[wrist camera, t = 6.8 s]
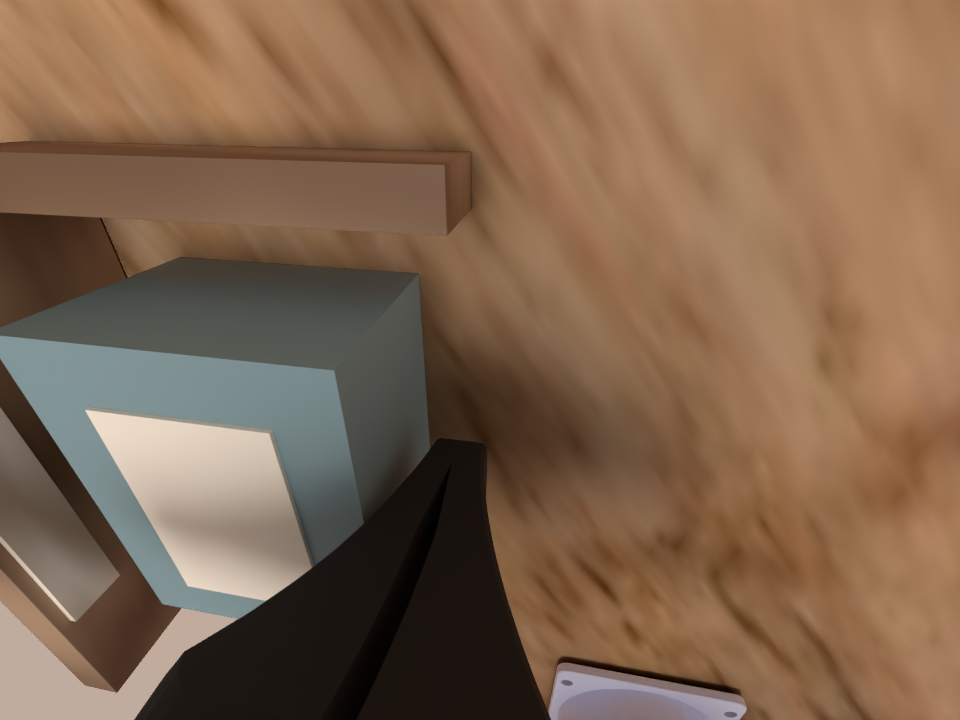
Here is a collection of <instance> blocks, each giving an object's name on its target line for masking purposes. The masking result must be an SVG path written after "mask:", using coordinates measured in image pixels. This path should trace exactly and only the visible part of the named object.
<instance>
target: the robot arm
mask: <svg viewBox="0 0 960 720" xmlns="http://www.w3.org/2000/svg"><path fill="white" fill-rule="evenodd" d="M486 482H487V446H486V445H485V444H484V443H476V442H468V441H460V440H452V439H443V438H440V439H438V440H437V441H436V442H435V443H434V445H433V446H432V447H431V449H430V450H429V451H428V453H427V454H426V455H425V457H424V458H423V459H422V460H421V462H420V463H419V464H418V465H417V467H416V468H415V469H414V470H413V471H412V473H411V474H410V475H409V476H408V477H407V478H406V479H405V481H404V482H403V483H402V484H401V485H400V486H399V487H398V489H397V490H396V491H395V492H394V493H393V494H392V495H391V496H390V497H389V498H388V499H387V500H386V502H385V503H384V504H383V505H382V506H381V507H380V508H379V509H378V510H377V511H376V512H375V513H374V514H373V515H372V516H371V517H370V518H369V519H368V520H367V521H366V522H365V523H364V524H363V525H361V526H360V527H359V528H358V529H357V530H356V531H355V532H354V533H353V534H352V535H351V536H350V537H348V538H347V539H346V540H345V541H344V542H343V543H342V544H340V545H339V546H338V547H337V548H336V549H335V550H333V551H332V552H331V553H330V554H328V555H327V556H326V557H325V558H323V559H322V560H321V561H320V562H319V563H317V564H316V565H315V566H314V567H312V568H311V569H310V570H308V571H307V572H306V573H305V574H303V575H302V576H301V577H299V578H298V579H297V580H295V581H294V582H292V583H291V584H290V585H288V586H287V587H285V588H284V589H282V590H281V591H279V592H278V593H277V594H275V595H274V596H272V597H271V598H269V599H268V600H266V601H265V602H264V603H262V604H261V605H259V606H258V607H256V608H255V609H253V610H252V611H250V612H249V613H247V614H246V615H244V616H243V617H241V618H239V619H238V620H236V621H234V622H233V623H231V624H230V625H228V626H226V627H225V628H223V629H221V630H220V631H218V632H217V633H215V634H213V635H212V636H210V637H208V638H207V639H205V640H203V641H202V642H200V643H198V644H197V645H195V646H193V647H191V648H190V649H188V650H186V651H185V652H184V653H183V654H182V655H181V657H180V658H179V659H178V661H177V662H176V663H175V664H174V665H173V667H172V668H171V669H170V670H169V671H168V673H167V674H166V675H165V677H164V678H163V680H162V681H161V682H160V684H159V685H158V686H157V688H156V689H155V691H154V692H153V694H152V695H151V697H150V698H149V699H148V701H147V702H146V704H145V705H144V707H143V708H142V709H141V711H140V712H139V714H138V715H137V717H136V718H135V719H134V720H740V718H741V717H742V716H743V714H744V713H745V712H746V710H747V707H746V704H745V701H744V699H743V698H742V697H741V696H739V695H736V694H732V693H727V692H722V691H716V690H711V689H706V688H700V687H695V686H690V685H684V684H679V683H673V682H668V681H663V680H657V679H652V678H647V677H641V676H636V675H631V674H625V673H620V672H615V671H609V670H604V669H599V668H593V667H588V666H583V665H577V664H572V663H561V664H559V665H558V666H557V670H556V675H555V679H554V684H553V689H552V694H551V699H550V703H549V708H548V711H547V708H546V706H545V704H544V701H543V699H542V696H541V694H540V691H539V689H538V686H537V684H536V681H535V679H534V676H533V673H532V671H531V668H530V665H529V663H528V660H527V657H526V654H525V652H524V649H523V646H522V643H521V640H520V637H519V634H518V631H517V628H516V625H515V622H514V619H513V616H512V613H511V610H510V607H509V604H508V600H507V597H506V593H505V590H504V586H503V583H502V579H501V575H500V571H499V567H498V563H497V559H496V555H495V550H494V546H493V541H492V536H491V530H490V525H489V519H488V512H487V504H486Z"/></svg>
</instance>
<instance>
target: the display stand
mask: <svg viewBox="0 0 960 720" xmlns="http://www.w3.org/2000/svg"><path fill="white" fill-rule="evenodd" d="M470 210H471V152H450V151H409V150H368V149H326V148H285V147H244V146H203V145H162V144H121V143H80V142H39V141H23V142H7V143H0V327H3V326H6V325H8V324H11V323H13V322H16V321H18V320H21V319H23V318H26V317H29V316H31V315H34V314H36V313H39V312H41V311H44V310H47V309H49V308H52V307H54V306H57V305H59V304H62V303H64V302H67V301H70V300H72V299H75V298H77V297H80V296H82V295H85V294H87V293H90V292H93V291H95V290H98V289H100V288H103V287H105V286H108V285H111V284H113V283H116V282H118V281H121V280H123V279H126V277H125V274H124V272H123V270H122V267H121V265H120V263H119V261H118V258H117V256H116V254H115V251H114V249H113V247H112V245H111V242H110V240H109V238H108V235H107V233H106V231H105V229H104V226H103V224H102V222H101V220H100V218H118V219H137V220H156V221H175V222H194V223H213V224H232V225H251V226H270V227H289V228H308V229H328V230H347V231H366V232H385V233H404V234H423V235H442V236H447V235H448V234H449V233H450V232H451V231H452V229H453V228H454V227H455V226H456V225H457V224H458V223H459V222H460V221H461V220H462V218H463V217H464V216H465V215H466V214H467V213H468V212H469V211H470ZM0 601H1V602H2V603H3V604H4V605H5V606H6V607H7V608H8V609H9V610H10V611H11V612H12V613H13V614H14V615H15V616H16V617H17V618H18V619H19V620H20V621H21V622H22V623H23V624H24V625H25V626H26V627H27V628H28V629H29V630H30V631H31V632H32V633H33V634H34V635H35V636H36V637H37V638H38V639H39V640H40V641H41V642H42V643H43V644H44V645H45V646H46V647H47V648H48V649H49V650H50V651H51V652H52V653H53V654H54V655H55V656H56V657H57V658H58V659H59V660H60V661H61V662H62V663H63V664H64V665H65V666H66V667H67V668H68V669H69V670H70V671H71V672H72V673H73V674H74V675H75V676H76V677H77V678H78V679H79V680H80V681H81V682H82V683H83V684H84V685H86V686H90V687H95V688H99V689H104V690H108V691H112V692H116V693H117V692H118V691H119V689H120V688H121V687H122V685H123V684H124V683H125V682H126V680H127V679H128V678H129V676H130V675H131V674H132V672H133V671H134V670H135V668H136V667H137V666H138V665H139V663H140V662H141V661H142V659H143V658H144V657H145V655H146V654H147V653H148V651H149V650H150V649H151V647H152V646H153V645H154V644H155V642H156V641H157V640H158V638H159V637H160V636H161V634H162V633H163V632H164V630H165V629H166V628H167V626H168V625H169V624H170V622H171V621H172V620H173V619H174V617H175V616H176V615H177V613H178V612H179V611H180V609H181V608H180V607H175V606H170V605H164V604H162V603H161V601H160V600H159V598H158V597H157V595H156V594H155V592H154V591H153V589H152V588H151V586H150V584H149V583H148V581H147V580H146V578H145V577H144V575H143V574H142V572H141V571H140V569H139V568H138V566H137V565H136V563H135V562H134V560H133V559H132V557H131V556H130V554H129V553H128V551H127V550H126V548H125V547H124V545H123V544H122V542H121V541H120V539H119V538H118V536H117V535H116V533H115V532H114V530H113V529H112V527H111V526H110V524H109V522H108V521H107V519H106V518H105V516H104V515H103V513H102V512H101V510H100V509H99V507H98V506H97V504H96V503H95V501H94V500H93V498H92V497H91V495H90V494H89V492H88V491H87V489H86V488H85V486H84V485H83V483H82V482H81V480H80V479H79V477H78V476H77V474H76V473H75V471H74V470H73V468H72V467H71V465H70V464H69V462H68V461H67V459H66V457H65V456H64V454H63V453H62V451H61V450H60V448H59V447H58V445H57V444H56V442H55V441H54V439H53V438H52V436H51V435H50V433H49V432H48V430H47V429H46V427H45V426H44V424H43V423H42V421H41V420H40V418H39V417H38V415H37V414H36V412H35V411H34V409H33V408H32V406H31V405H30V403H29V402H28V400H27V399H26V397H25V395H24V394H23V392H22V391H21V389H20V388H19V386H18V385H17V383H16V382H15V380H14V379H13V377H12V376H11V374H10V373H9V371H8V370H7V368H6V367H5V365H4V364H3V362H2V361H1V359H0Z"/></svg>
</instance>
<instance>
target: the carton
mask: <svg viewBox="0 0 960 720" xmlns="http://www.w3.org/2000/svg"><path fill="white" fill-rule="evenodd" d="M0 359H1V361H2V362H3V364H4V365H5V367H6V368H7V370H8V371H9V373H10V374H11V376H12V377H13V379H14V380H15V382H16V383H17V385H18V386H19V388H20V389H21V391H22V392H23V394H24V395H25V397H26V399H27V400H28V402H29V403H30V405H31V406H32V408H33V409H34V411H35V412H36V414H37V415H38V417H39V418H40V420H41V421H42V423H43V424H44V426H45V427H46V429H47V430H48V432H49V433H50V435H51V436H52V438H53V439H54V441H55V442H56V444H57V445H58V447H59V448H60V450H61V451H62V453H63V454H64V456H65V457H66V459H67V461H68V462H69V464H70V465H71V467H72V468H73V470H74V471H75V473H76V474H77V476H78V477H79V479H80V480H81V482H82V483H83V485H84V486H85V488H86V489H87V491H88V492H89V494H90V495H91V497H92V498H93V500H94V501H95V503H96V504H97V506H98V507H99V509H100V510H101V512H102V513H103V515H104V516H105V518H106V519H107V521H108V522H109V524H110V526H111V527H112V529H113V530H114V532H115V533H116V535H117V536H118V538H119V539H120V541H121V542H122V544H123V545H124V547H125V548H126V550H127V551H128V553H129V554H130V556H131V557H132V559H133V560H134V562H135V563H136V565H137V566H138V568H139V569H140V571H141V572H142V574H143V575H144V577H145V578H146V580H147V581H148V583H149V584H150V586H151V588H152V589H153V591H154V592H155V594H156V595H157V597H158V598H159V600H160V601H161V603H162V604H164V605H170V606H175V607H180V608H185V609H190V610H195V611H200V612H206V613H211V614H215V615H221V616H226V617H231V618H236V619H239V618H241V617H243V616H244V615H246V614H247V613H249V612H250V611H252V610H253V609H255V608H256V607H258V606H259V605H261V604H262V603H264V602H265V601H266V600H268V599H269V598H271V597H272V596H274V595H275V594H277V593H278V592H279V591H281V590H282V589H284V588H285V587H287V586H288V585H290V584H291V583H292V582H294V581H295V580H297V579H298V578H299V577H301V576H302V575H303V574H305V573H306V572H307V571H308V570H310V569H311V568H312V567H314V566H315V565H316V564H317V563H319V562H320V561H321V560H322V559H323V558H325V557H326V556H327V555H328V554H330V553H331V552H332V551H333V550H335V549H336V548H337V547H338V546H339V545H340V544H342V543H343V542H344V541H345V540H346V539H347V538H348V537H350V536H351V535H352V534H353V533H354V532H355V531H356V530H357V529H358V528H359V527H360V526H361V525H363V524H364V523H365V522H366V521H367V520H368V519H369V518H370V517H371V516H372V515H373V514H374V513H375V512H376V511H377V510H378V509H379V508H380V507H381V506H382V505H383V504H384V503H385V502H386V500H387V499H388V498H389V497H390V496H391V495H392V494H393V493H394V492H395V491H396V490H397V489H398V487H399V486H400V485H401V484H402V483H403V482H404V481H405V479H406V478H407V477H408V476H409V475H410V474H411V473H412V471H413V470H414V469H415V468H416V467H417V465H418V464H419V463H420V462H421V460H422V459H423V458H424V457H425V455H426V454H427V453H428V451H429V450H430V441H429V425H428V410H427V395H426V379H425V364H424V349H423V333H422V318H421V303H420V288H419V274H417V273H403V272H388V271H374V270H359V269H345V268H330V267H316V266H301V265H287V264H273V263H258V262H244V261H229V260H215V259H200V258H186V257H180V258H177V259H174V260H172V261H169V262H167V263H164V264H162V265H159V266H157V267H154V268H151V269H149V270H146V271H144V272H141V273H139V274H136V275H134V276H131V277H128V278H126V279H123V280H121V281H118V282H116V283H113V284H111V285H108V286H105V287H103V288H100V289H98V290H95V291H93V292H90V293H87V294H85V295H82V296H80V297H77V298H75V299H72V300H70V301H67V302H64V303H62V304H59V305H57V306H54V307H52V308H49V309H47V310H44V311H41V312H39V313H36V314H34V315H31V316H29V317H26V318H23V319H21V320H18V321H16V322H13V323H11V324H8V325H6V326H3V327H0Z"/></svg>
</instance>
